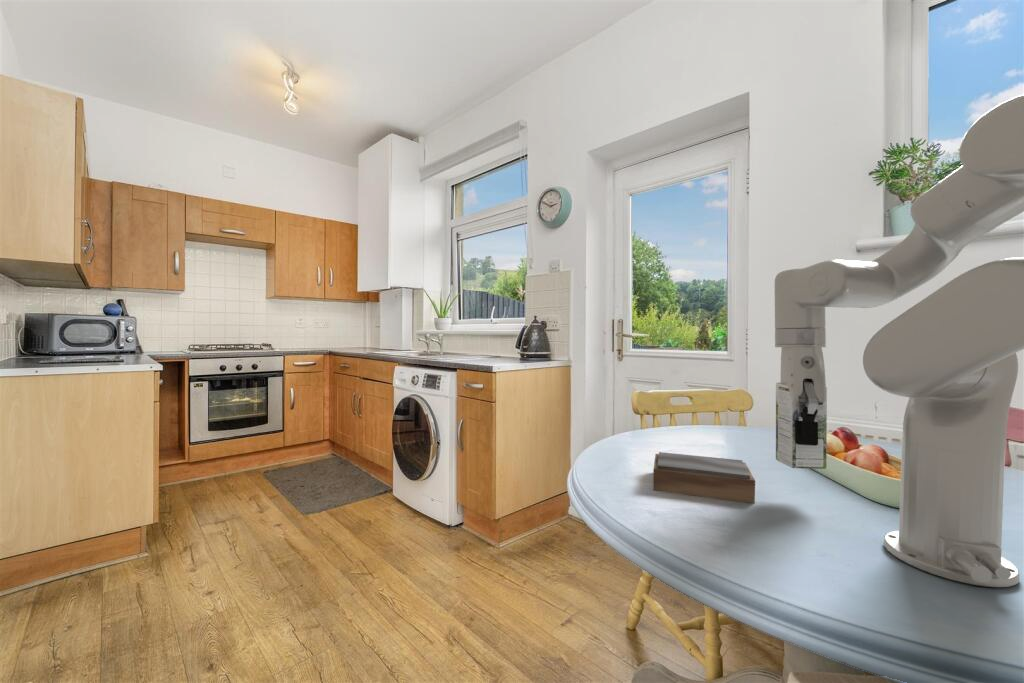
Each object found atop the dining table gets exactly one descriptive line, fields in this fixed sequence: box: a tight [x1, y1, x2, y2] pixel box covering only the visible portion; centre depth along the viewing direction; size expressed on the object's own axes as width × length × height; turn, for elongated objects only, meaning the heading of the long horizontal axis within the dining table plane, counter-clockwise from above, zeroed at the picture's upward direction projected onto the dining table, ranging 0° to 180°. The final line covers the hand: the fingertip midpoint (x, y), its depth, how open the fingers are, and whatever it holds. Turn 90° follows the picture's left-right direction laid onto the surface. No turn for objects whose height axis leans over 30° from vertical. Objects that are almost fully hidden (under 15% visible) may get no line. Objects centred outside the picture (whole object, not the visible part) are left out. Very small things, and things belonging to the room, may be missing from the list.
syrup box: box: [775, 382, 828, 470], centre depth 77 cm, size 6×6×14 cm
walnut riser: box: [652, 451, 756, 504], centre depth 84 cm, size 11×17×5 cm, turn 70°
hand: (800, 439), depth 77 cm, fingers closed on syrup box, 6 cm apart
